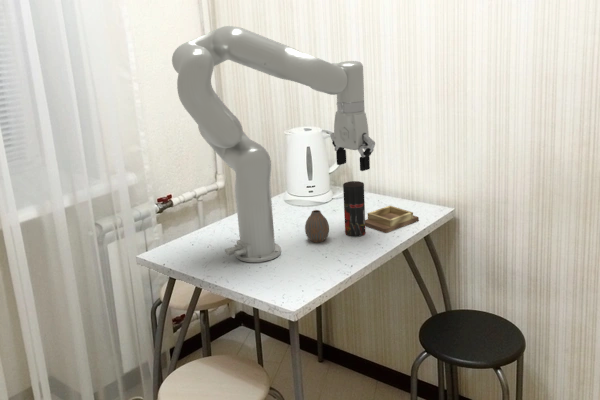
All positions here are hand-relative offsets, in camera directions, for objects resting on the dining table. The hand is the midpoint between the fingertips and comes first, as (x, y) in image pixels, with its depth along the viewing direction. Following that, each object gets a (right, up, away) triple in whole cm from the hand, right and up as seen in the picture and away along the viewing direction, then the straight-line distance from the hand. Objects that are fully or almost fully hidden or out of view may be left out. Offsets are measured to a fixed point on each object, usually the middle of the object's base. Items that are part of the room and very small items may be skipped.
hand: (353, 167), depth 187 cm
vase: (-10, -21, +3) cm, 23 cm away
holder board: (+12, -16, +12) cm, 24 cm away
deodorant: (+1, -19, +6) cm, 20 cm away
